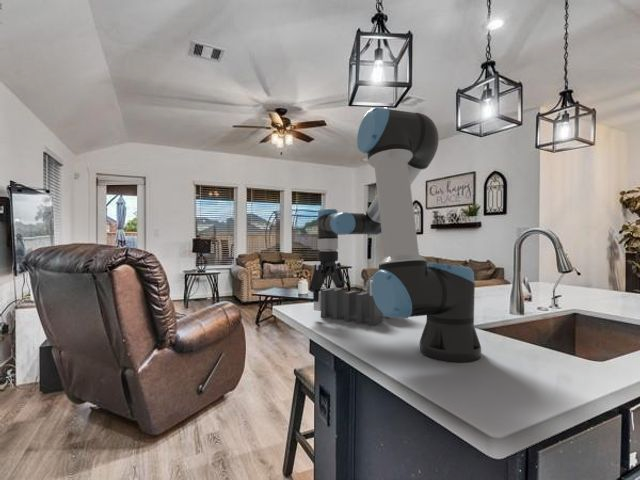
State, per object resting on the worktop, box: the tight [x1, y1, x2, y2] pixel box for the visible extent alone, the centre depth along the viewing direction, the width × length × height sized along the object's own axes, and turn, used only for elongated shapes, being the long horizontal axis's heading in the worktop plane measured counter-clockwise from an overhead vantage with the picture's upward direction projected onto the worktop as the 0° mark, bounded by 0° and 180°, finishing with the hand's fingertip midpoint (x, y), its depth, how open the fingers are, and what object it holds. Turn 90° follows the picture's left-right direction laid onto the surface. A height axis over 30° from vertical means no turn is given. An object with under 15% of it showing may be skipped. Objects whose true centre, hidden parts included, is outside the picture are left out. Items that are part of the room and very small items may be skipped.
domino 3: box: [343, 290, 358, 323], centre depth 131 cm, size 2×6×10 cm, turn 144°
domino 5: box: [368, 295, 384, 327], centre depth 125 cm, size 2×6×10 cm, turn 145°
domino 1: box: [320, 287, 335, 319], centre depth 137 cm, size 2×6×10 cm, turn 144°
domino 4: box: [355, 291, 370, 325], centre depth 128 cm, size 2×6×10 cm, turn 145°
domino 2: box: [331, 288, 347, 321], centre depth 134 cm, size 2×6×10 cm, turn 145°
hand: (328, 307), depth 136 cm, fingers open, 13 cm apart
